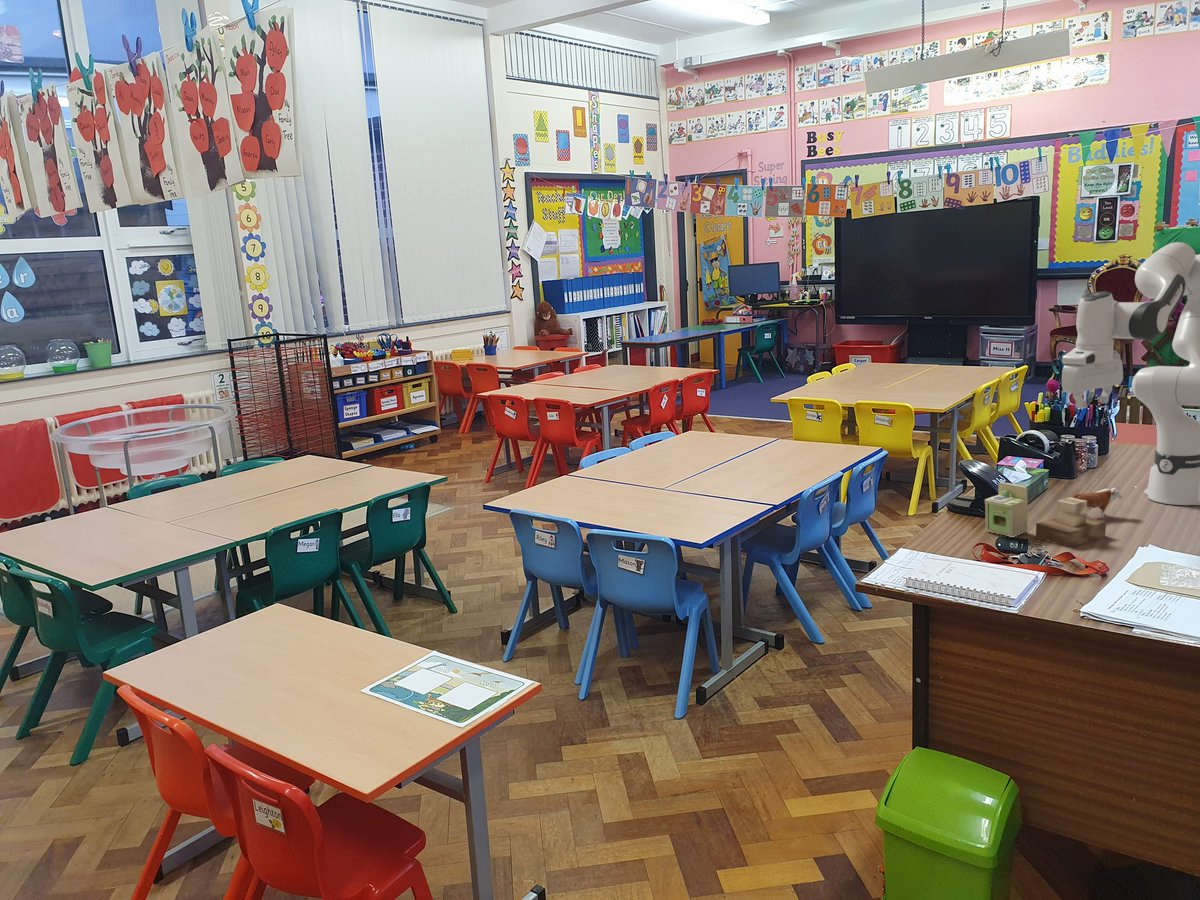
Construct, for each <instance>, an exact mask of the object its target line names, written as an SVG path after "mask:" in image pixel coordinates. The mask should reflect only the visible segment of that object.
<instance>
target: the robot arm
mask: <svg viewBox="0 0 1200 900" xmlns="http://www.w3.org/2000/svg"><path fill="white" fill-rule="evenodd" d="M1134 275H1135V276H1134V283H1135V286H1136V288H1137V290H1138V291H1139V292H1140V293H1141V295H1143V296H1144V297H1146V298H1149V299H1151V300H1152V301H1143V302H1142V301H1141V302H1140V301H1139V302H1135V301H1134V302H1133V301H1132V302H1131V301H1128V302H1125V301H1124V302H1123V301H1119V302H1118V301H1117V300H1115V299H1114V297H1113V294H1112V293H1111V292H1109V291H1095V292H1094V291H1093V292H1089V293H1085V294H1084V295H1082V296H1081V297H1080V298H1079V301H1078V305H1077V312H1076V320H1075V322H1076V323H1075V324H1076V326H1075V327H1076V332H1077V336H1076V337H1077V338H1076V340H1075V347H1073V349H1071V351H1069V352H1067V353H1066V354H1064V355H1063V356H1062V360H1061V362H1062V364H1064V366H1063V367H1062V370H1061V387H1062V388H1061V389H1062V391H1063V392H1064V393H1067V394H1072V397H1073V399H1074V401H1075V408H1077V409H1084V408H1085V407H1086V400H1084V398H1083V396H1084V394H1085V393H1084V392H1087V391H1093V390H1098V389H1102V392H1101V395H1099V397H1098V401H1099V404H1107V403H1109V400H1110V395H1111V393H1112V391H1113V386H1116V385H1117V386H1118V385H1121V384H1122V382H1123V380H1124V369H1123V368H1124V367H1123V361H1122V359H1121V354H1120V353H1119V352H1118V351H1117V350H1114V339H1120V340H1121V339H1123V340H1124V339H1125V340H1129V339H1130V340H1140V341H1148V342H1152V341H1154V340H1155V341H1156V339H1158V338H1159V337H1161V336H1162V334H1164V332H1165V331H1166V330H1167V327H1168V324H1169V321H1170V319H1171V316H1172V315H1173V313H1174V312H1175V310H1176V309H1177V307H1178V305H1179V303H1180V302H1181V300H1182V298H1183V297H1184V296H1186V299H1187V301H1186V302H1185V304H1184V306H1183V309H1182V311H1181V313H1180V315H1179V318H1178V322H1177V325H1176V329H1175V333H1174V336H1173V339H1172V343H1171V347H1172V350H1173V352H1174V353H1175V354H1176V355H1177V356H1178V357H1179V358H1181V359H1183V360H1184V361H1185V360H1186V361H1187V362H1189V364H1188V365H1187V366H1173V365H1172V366H1170V365H1156V366H1148V367H1143V368H1140V369H1139V370H1137V372H1136V374H1135V375H1134V376H1133V378H1132V381H1131V390H1132V392H1133V395H1134V397H1136V399H1137V400H1139V401H1140V402H1141V403H1143V405H1144V406H1145V407H1146V408H1148V410H1149V411H1150V413H1151V414H1152V416H1153V418H1154V421H1155V424H1156V450H1155V451H1154V455H1153V457H1154V459H1153V460H1154V465H1153V466H1151V468H1150V471H1149V478H1148V479H1149V480H1148V485H1147V488H1145V489H1144V492H1143V494H1145V495H1147V498H1148V499H1149V500H1151V501H1154V502H1157V503H1160V504H1167V505H1176V506H1200V422H1199V421H1198V420H1197V419H1195V418H1194V417H1192V416H1190V415H1188V414H1187V413H1186V412H1185V411H1184V409H1183V407H1182V406H1189V407H1191V406H1192V407H1200V254H1196V252H1195V250H1194V249H1193V247H1192V246H1191V245H1189V244H1187V243H1185V242H1180V241H1177V242H1171V243H1168V244H1166V245H1164V246H1163V247H1161V248H1159V249H1158V250H1156V251H1155V252H1154V253H1152V254H1151V255H1150V256H1148V257H1147V259H1145V260H1144V261H1143V262H1142V263H1141V264H1140V265H1139V267H1138V268H1137V270H1136V271H1135V274H1134Z"/></svg>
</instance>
